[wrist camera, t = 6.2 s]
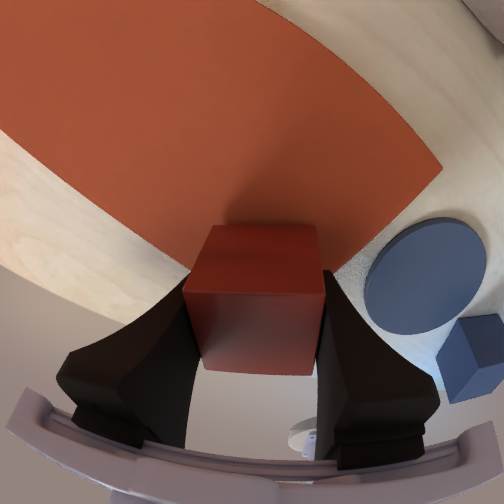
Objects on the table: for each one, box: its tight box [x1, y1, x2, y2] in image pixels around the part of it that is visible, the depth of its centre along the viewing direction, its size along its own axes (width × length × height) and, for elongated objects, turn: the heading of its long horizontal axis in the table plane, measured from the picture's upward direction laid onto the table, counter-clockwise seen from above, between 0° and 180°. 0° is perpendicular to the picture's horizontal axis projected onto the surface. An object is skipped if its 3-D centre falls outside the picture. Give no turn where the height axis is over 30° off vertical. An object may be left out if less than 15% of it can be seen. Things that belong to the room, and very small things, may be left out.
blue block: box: [436, 314, 504, 404], centre depth 14 cm, size 4×4×4 cm
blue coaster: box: [364, 218, 486, 335], centre depth 14 cm, size 8×8×1 cm
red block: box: [182, 225, 326, 376], centre depth 11 cm, size 4×4×4 cm
